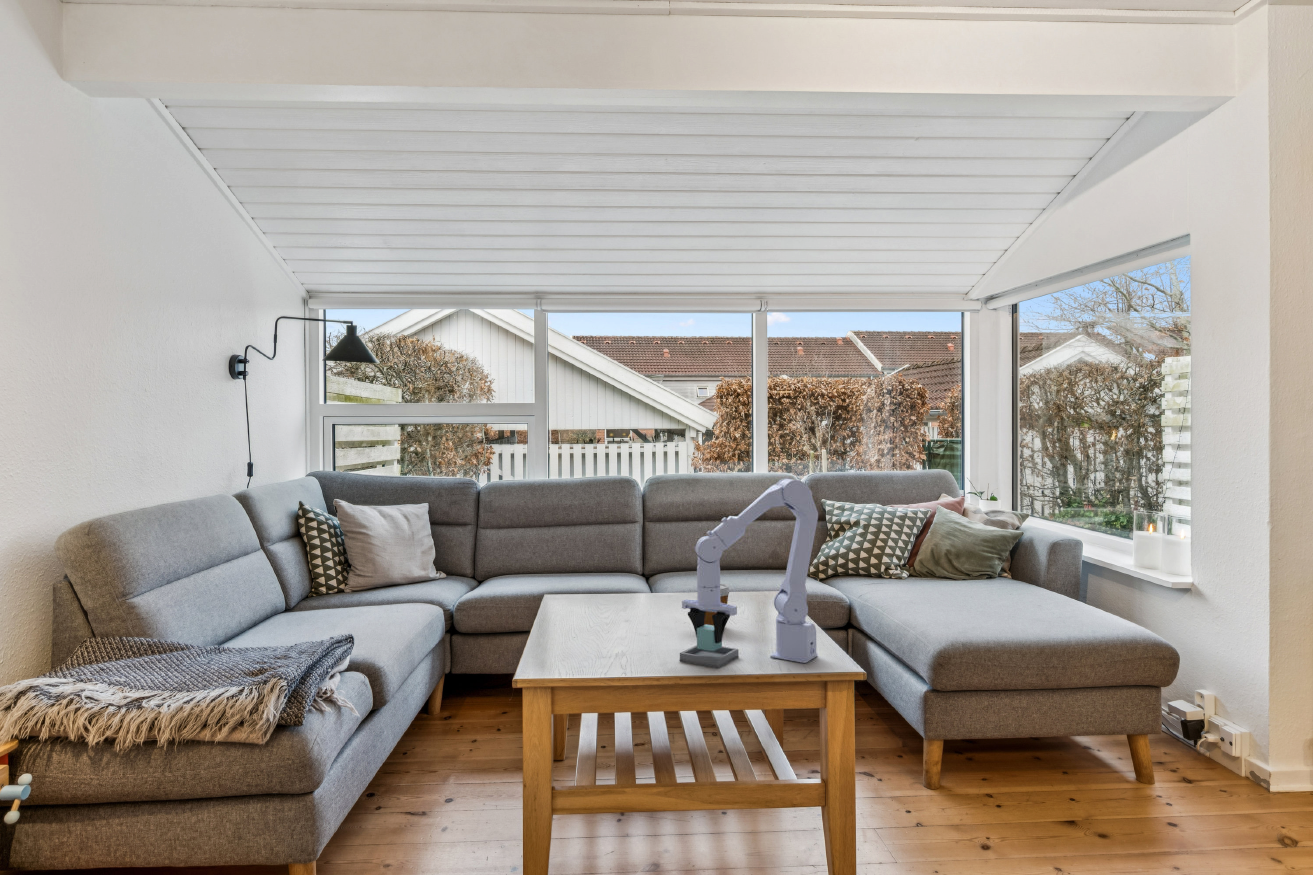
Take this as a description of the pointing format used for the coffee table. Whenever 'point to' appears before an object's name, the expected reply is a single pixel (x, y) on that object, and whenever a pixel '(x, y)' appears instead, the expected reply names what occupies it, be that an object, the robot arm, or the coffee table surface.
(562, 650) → the coffee table surface
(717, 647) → the teal block
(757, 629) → the coffee table surface
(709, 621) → the disposable coffee cup
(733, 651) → the tray
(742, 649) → the coffee table surface
